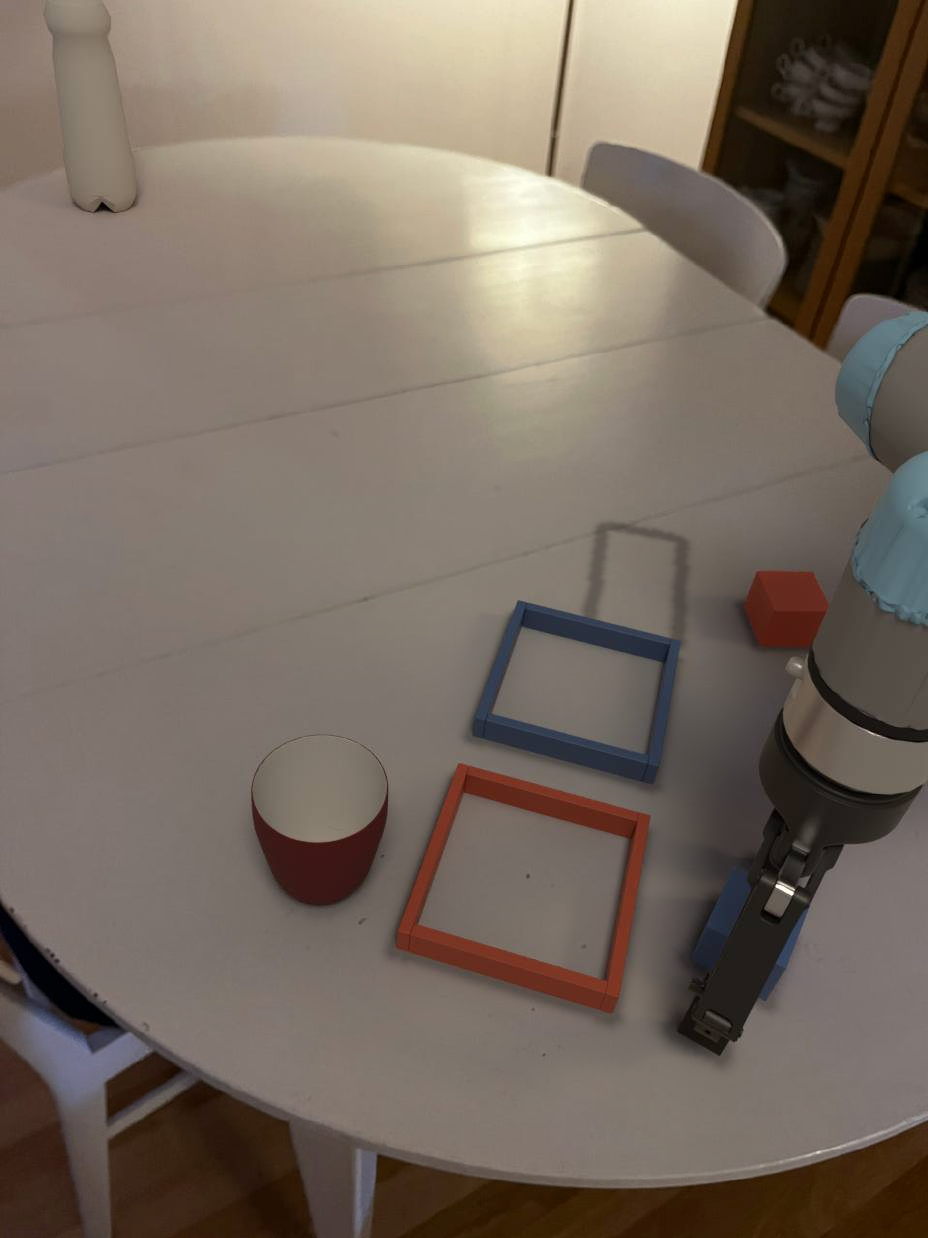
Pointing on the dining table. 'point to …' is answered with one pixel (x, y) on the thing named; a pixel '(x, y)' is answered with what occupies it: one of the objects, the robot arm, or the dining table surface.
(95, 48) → the bottle
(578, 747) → the blue square frame
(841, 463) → the dining table surface
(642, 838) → the red tray
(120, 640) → the dining table surface
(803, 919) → the blue block
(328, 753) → the mug
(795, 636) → the red block
